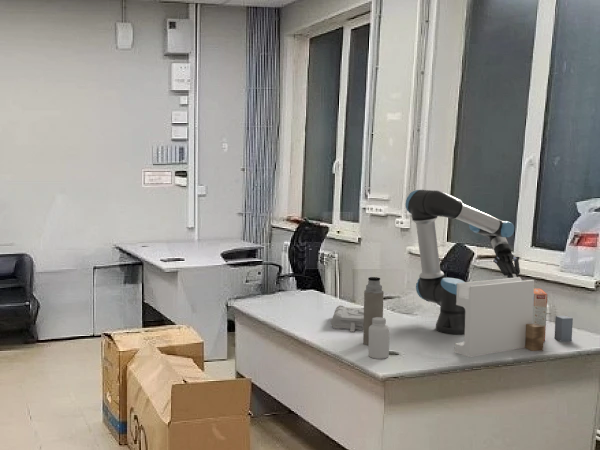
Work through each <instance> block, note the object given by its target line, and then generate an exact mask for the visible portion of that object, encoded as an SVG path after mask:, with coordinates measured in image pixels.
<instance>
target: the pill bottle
mask: <svg viewBox="0 0 600 450" xmlns="http://www.w3.org/2000/svg"><path fill="white" fill-rule="evenodd" d="M372 324H373V325H371V326H370V327H369V346H368V348H367V349H368V353H367V354H368V357H369V358H372V359H376V360H383V359H384V360H385V359H387V358H389V356H390V327H389V326H388V325H387V319H386V318H385V317H383V318H382V317H375V318H372Z"/></svg>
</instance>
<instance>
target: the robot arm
mask: <svg viewBox="0 0 600 450" xmlns="http://www.w3.org/2000/svg"><path fill="white" fill-rule="evenodd" d="M405 210H406V212H408V213H409V214H410V215H411V220H412V221H413V222H414V223H415V225H416V226H415V227H416V234H417V240H418V241H417V243H418V250H419V258H420V267H421V273H420V274H419V275H418V276H419V277H418V279H417V282H416V284H415V290H416V293H417V296H418V297H419V298H421V299H422V300H424V301H426V302H428V303H434V304H437V305H440V307H439V308H440V309H439V314H438V318H437V320H436V323H435V330H436V331H438V332H439V333H444V334H450V335H465V308H464V307H462V306H459V305H456V302H457V301H456V295H457V283H464V282H465V281H464V280H463V279H460V278H457V277H456V278H454V277H445V273H444V271H442V270H441V263H440V256H439V246H438V239H437V238H438V237H437V230H436V223H435V221H436V220H437V219H438V217H440V218H441V217H442V218H448V219H450V220H455V219H456V220H458V221H461V222H463V223H465V224H468V227H469V230H470V231H472V232H473V233H474V234H478V235H481V236H484V237H486V238H488V239H489V242H490V244H491V246H492V249H493V252H494V254H495V256H496V257H494V259H493V263H495V264H496V266H497V267H498V269H499V270H500V271H501V273H502V274H503V277H506V278H516V277H519V275H520V273H521V268H520V261H519V260H520V257H519V256H517V257H516V256H515V255H514V253H512V249H511V247H510V244H509V242H508V240H507V238H510V237H512V236H513V234H514V232H515V225H514V224H513V222H510V221H508V220H501V219H500V218H496V217H494V216H492V215H490V214H488V213H485V212H484V211H480V210H479V209H476V208H475V207H471V205H470V206H469V205H467V204H465V203H463V201H462V200H461V199H460V198H457V197H455V196H453V195H451V194H448V193H446V192H443V191H440V190H430V189H429V190H428V189H415V190H412V191H411V192H409V194H408V196H407V197H406V199H405Z"/></svg>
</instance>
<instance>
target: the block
mask: <svg viewBox="0 0 600 450" xmlns="http://www.w3.org/2000/svg"><path fill="white" fill-rule="evenodd" d="M534 288H535V279H527V280H523V279H522V278H521V277H520V276H518V277H516V278H508V277H506V278H499V279H498V278H497V279H486V280H477V281H467V282H466V281H464V283H457V295H456V301H457V302H456V305H459V306H462V307H464V308H465V334H464V339H463V341H461V342H456V343H454V353H456V354H459V355H461V356H464V357H467V358H472V357H478V356H484V355H490V354H494V353H495V354H497V353H501V352H508V351H513V350H518V349H524V348H525V340H526V324H532V319H533V297H534ZM525 349H526V348H525Z"/></svg>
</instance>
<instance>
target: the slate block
mask: <svg viewBox="0 0 600 450" xmlns="http://www.w3.org/2000/svg"><path fill="white" fill-rule="evenodd" d="M554 319H555V320H554V321H555V322H554V339H555V340H557V341H560V342H572V341H573V339H572V338H573V323H574V322H573V317H570V316H567V315H555V317H554Z"/></svg>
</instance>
